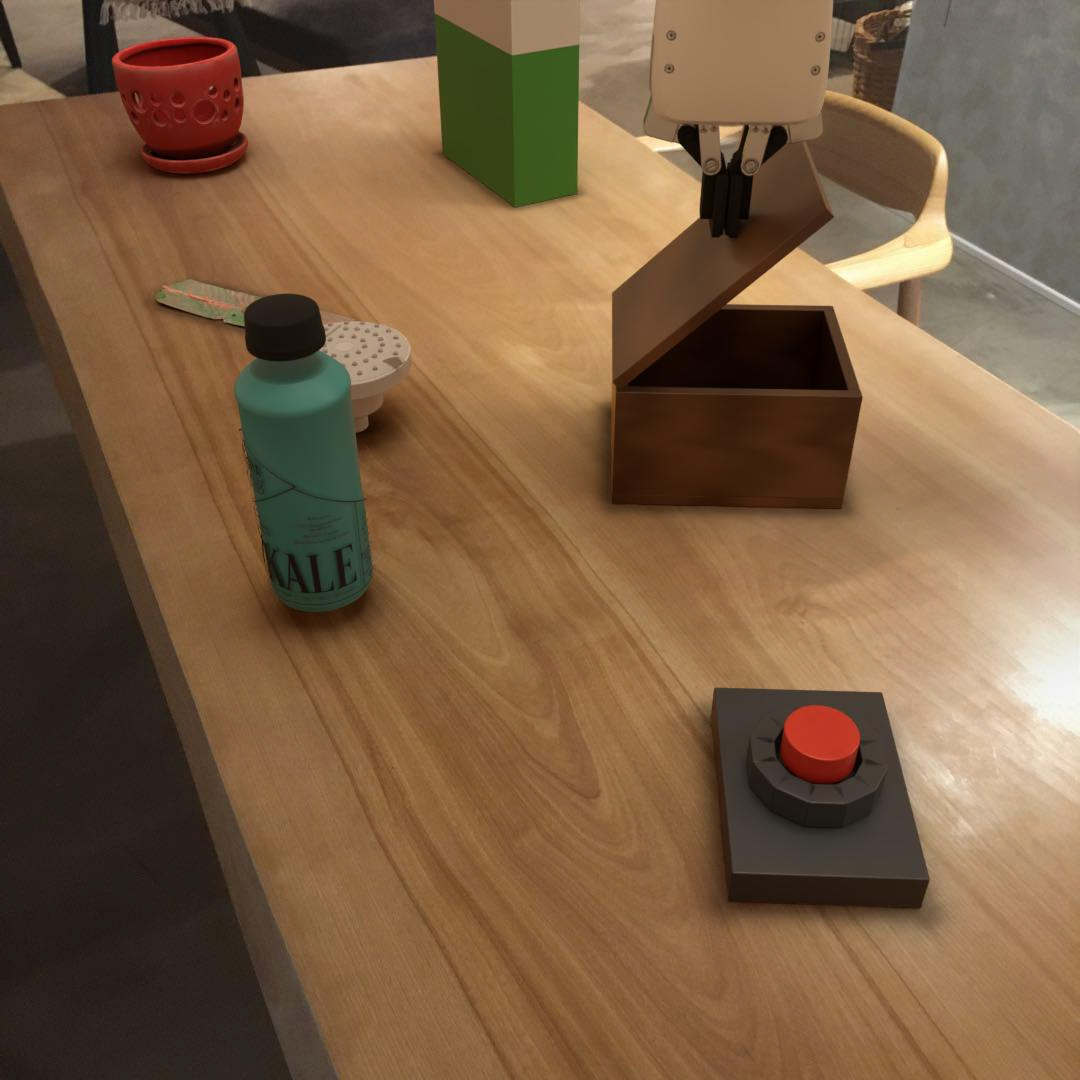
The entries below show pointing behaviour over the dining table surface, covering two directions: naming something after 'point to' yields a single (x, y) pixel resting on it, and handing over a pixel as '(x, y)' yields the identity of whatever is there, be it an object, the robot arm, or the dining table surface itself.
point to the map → (218, 302)
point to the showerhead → (368, 362)
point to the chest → (741, 414)
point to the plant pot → (184, 102)
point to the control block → (813, 808)
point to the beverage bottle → (303, 457)
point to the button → (819, 744)
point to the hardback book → (511, 93)
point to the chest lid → (715, 263)
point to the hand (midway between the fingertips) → (722, 228)
